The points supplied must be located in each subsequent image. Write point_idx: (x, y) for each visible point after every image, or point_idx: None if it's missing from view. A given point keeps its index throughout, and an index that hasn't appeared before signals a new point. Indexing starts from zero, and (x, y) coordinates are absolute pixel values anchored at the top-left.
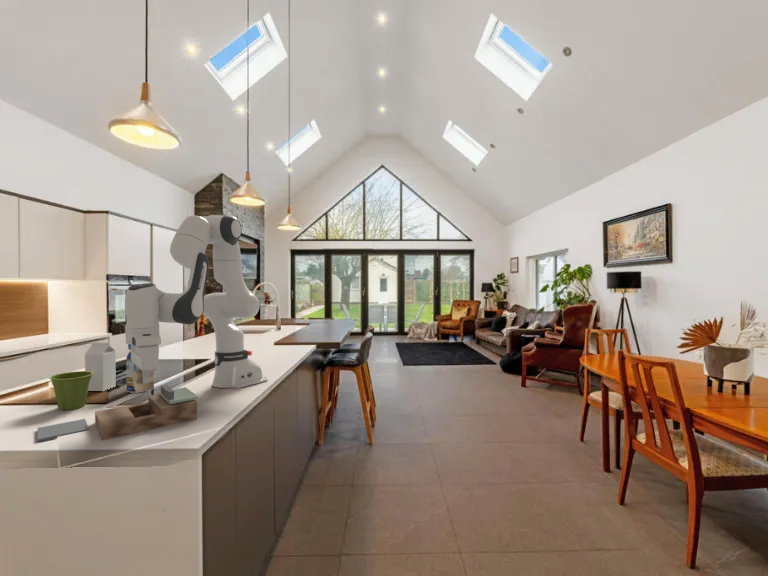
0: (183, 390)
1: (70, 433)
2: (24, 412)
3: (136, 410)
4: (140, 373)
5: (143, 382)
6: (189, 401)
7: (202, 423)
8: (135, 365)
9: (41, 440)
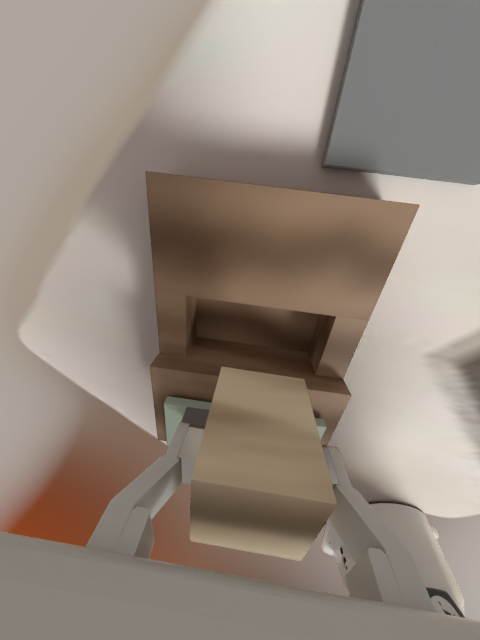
0: None
1: (342, 85)
2: None
3: (323, 332)
4: (191, 492)
5: (178, 428)
6: None
7: (150, 394)
8: None
9: None
